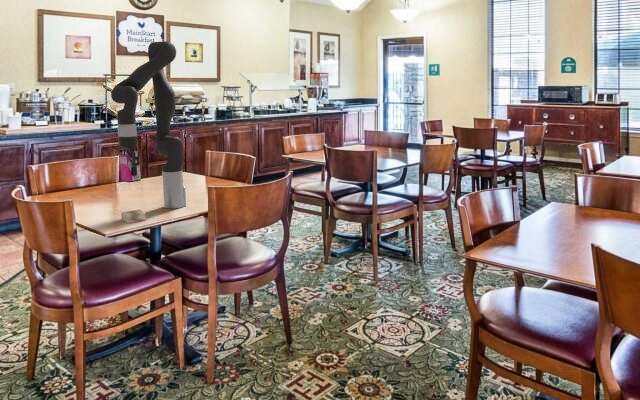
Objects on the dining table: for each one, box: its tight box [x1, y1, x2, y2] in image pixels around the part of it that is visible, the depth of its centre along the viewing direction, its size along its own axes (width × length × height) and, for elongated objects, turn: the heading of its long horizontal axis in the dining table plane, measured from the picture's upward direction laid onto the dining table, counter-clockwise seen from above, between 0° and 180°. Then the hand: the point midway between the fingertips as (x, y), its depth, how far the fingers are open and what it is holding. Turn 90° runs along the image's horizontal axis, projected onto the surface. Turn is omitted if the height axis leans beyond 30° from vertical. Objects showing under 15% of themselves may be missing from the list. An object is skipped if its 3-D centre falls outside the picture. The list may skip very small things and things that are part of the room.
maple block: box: [120, 209, 147, 224], centre depth 232 cm, size 8×8×4 cm
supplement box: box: [118, 154, 142, 184], centre depth 228 cm, size 6×6×12 cm
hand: (130, 174), depth 228 cm, fingers closed on supplement box, 6 cm apart
